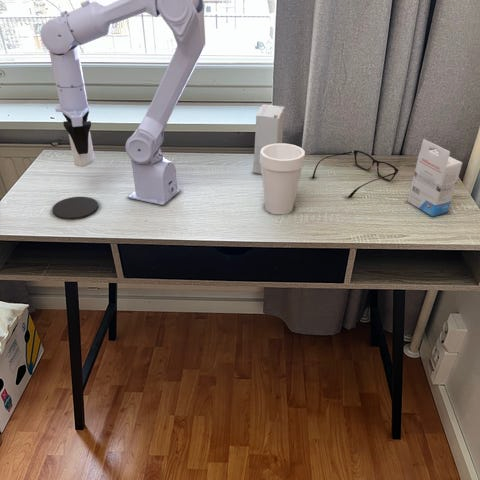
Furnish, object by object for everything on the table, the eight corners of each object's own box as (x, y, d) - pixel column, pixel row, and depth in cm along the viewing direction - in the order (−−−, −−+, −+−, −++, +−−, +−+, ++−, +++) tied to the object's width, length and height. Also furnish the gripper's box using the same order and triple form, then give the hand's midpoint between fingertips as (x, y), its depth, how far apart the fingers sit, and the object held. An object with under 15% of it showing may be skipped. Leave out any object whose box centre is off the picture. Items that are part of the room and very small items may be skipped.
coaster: (107, 203, 115) (106, 201, 115) (80, 223, 108) (79, 221, 108) (71, 195, 118) (71, 193, 118) (43, 214, 111) (42, 212, 111)
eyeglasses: (399, 184, 123) (403, 169, 121) (353, 201, 116) (356, 185, 114) (352, 162, 133) (354, 147, 131) (307, 176, 127) (308, 160, 124)
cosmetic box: (259, 161, 134) (261, 103, 124) (281, 163, 133) (285, 105, 123) (253, 174, 127) (254, 114, 118) (276, 176, 126) (279, 116, 117)
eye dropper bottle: (100, 162, 116) (91, 108, 108) (78, 168, 113) (67, 114, 105) (90, 156, 118) (81, 103, 110) (69, 162, 115) (58, 109, 107)
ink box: (449, 212, 112) (468, 148, 103) (432, 217, 110) (450, 152, 101) (423, 197, 118) (439, 134, 109) (406, 201, 116) (421, 138, 107)
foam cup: (271, 221, 109) (274, 163, 100) (251, 203, 115) (252, 148, 107) (307, 211, 112) (313, 155, 104) (286, 195, 118) (290, 140, 110)
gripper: (50, 75, 109) (63, 138, 117) (50, 95, 98) (64, 162, 107) (83, 74, 110) (93, 135, 119) (87, 93, 100) (98, 159, 109)
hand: (82, 148), depth 113 cm, fingers closed on eye dropper bottle, 5 cm apart
